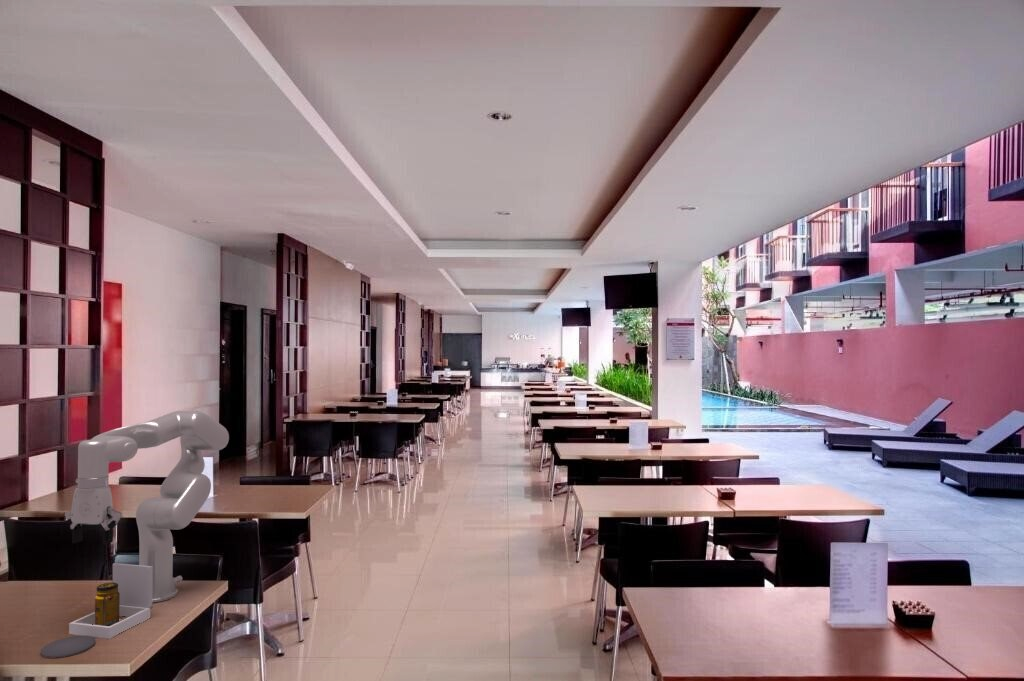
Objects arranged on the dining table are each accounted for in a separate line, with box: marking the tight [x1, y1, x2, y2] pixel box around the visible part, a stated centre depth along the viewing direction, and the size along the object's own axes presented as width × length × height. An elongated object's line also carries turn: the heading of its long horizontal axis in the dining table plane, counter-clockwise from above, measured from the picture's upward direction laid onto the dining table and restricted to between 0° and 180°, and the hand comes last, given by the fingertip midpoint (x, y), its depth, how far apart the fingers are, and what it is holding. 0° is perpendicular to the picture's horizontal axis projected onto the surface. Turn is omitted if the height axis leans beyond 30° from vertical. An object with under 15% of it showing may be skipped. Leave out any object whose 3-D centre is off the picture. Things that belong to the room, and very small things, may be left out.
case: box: [68, 562, 153, 640], centre depth 191 cm, size 16×14×15 cm
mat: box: [40, 635, 96, 658], centre depth 176 cm, size 12×12×1 cm
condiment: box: [94, 581, 120, 626], centre depth 191 cm, size 7×8×12 cm
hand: (92, 542), depth 191 cm, fingers open, 9 cm apart
